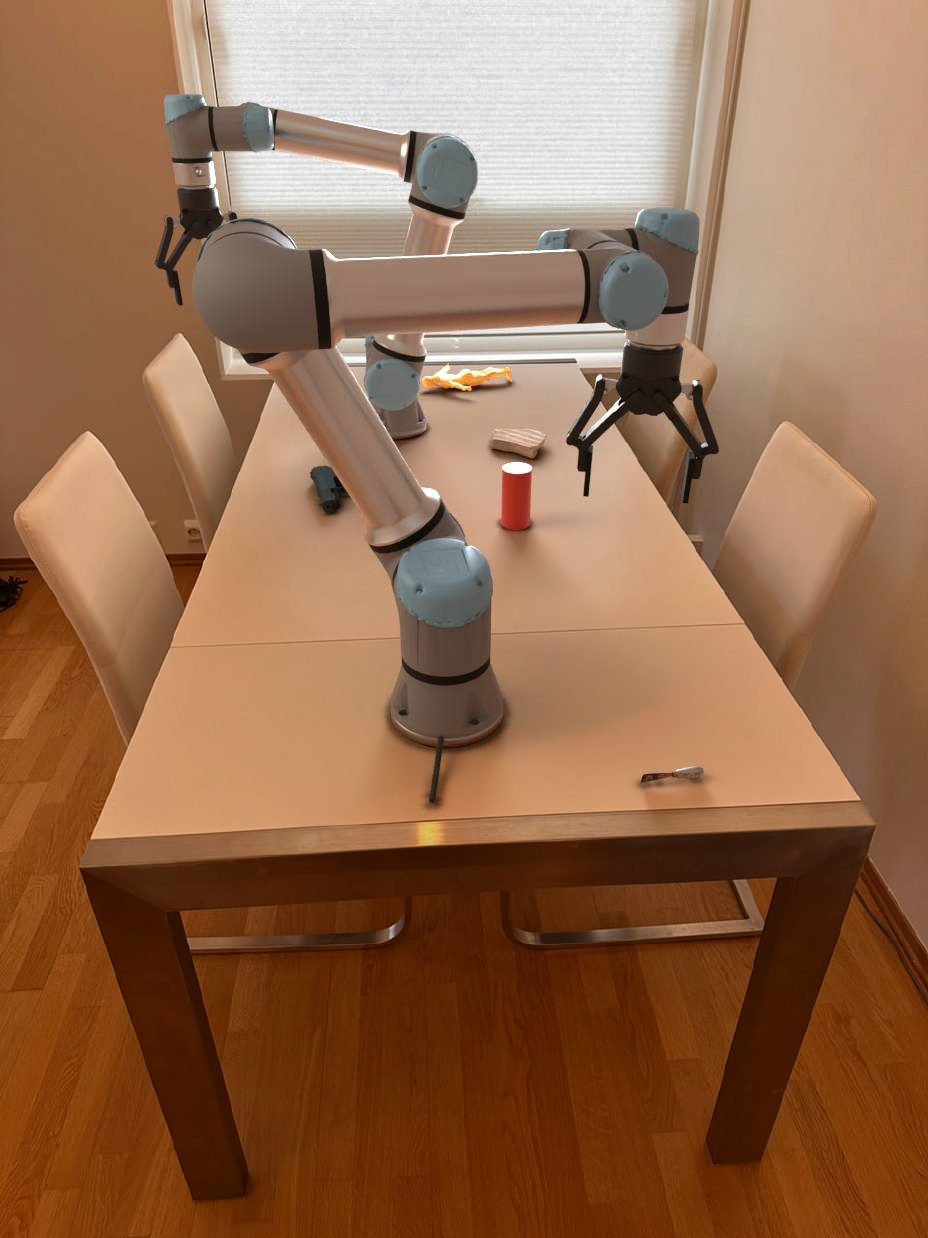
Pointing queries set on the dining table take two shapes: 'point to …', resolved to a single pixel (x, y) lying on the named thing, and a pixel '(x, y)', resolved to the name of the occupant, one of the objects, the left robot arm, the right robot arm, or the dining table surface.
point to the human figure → (464, 378)
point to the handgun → (327, 487)
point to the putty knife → (674, 774)
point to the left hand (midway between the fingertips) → (213, 300)
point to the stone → (518, 441)
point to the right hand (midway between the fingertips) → (635, 496)
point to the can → (516, 495)
